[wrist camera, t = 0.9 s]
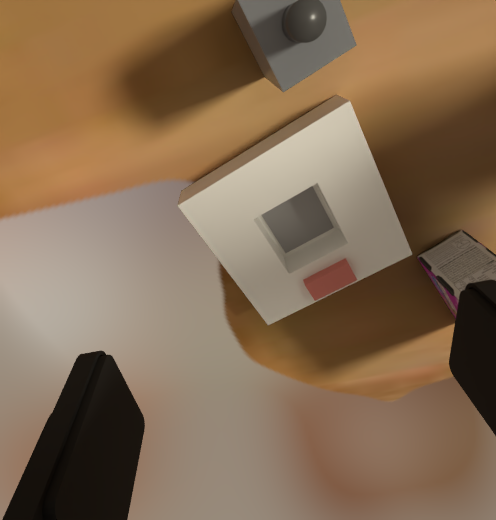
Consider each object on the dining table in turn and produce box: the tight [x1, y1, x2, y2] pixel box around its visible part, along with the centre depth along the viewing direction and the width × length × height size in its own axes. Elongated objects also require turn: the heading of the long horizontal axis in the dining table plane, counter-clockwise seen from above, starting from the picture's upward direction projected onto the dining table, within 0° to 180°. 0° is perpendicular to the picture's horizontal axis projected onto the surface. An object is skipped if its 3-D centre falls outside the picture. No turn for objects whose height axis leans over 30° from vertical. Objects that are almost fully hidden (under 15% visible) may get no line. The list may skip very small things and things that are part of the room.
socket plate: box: [178, 95, 412, 325], centre depth 30 cm, size 14×14×4 cm
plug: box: [231, 0, 356, 92], centre depth 20 cm, size 4×4×11 cm
